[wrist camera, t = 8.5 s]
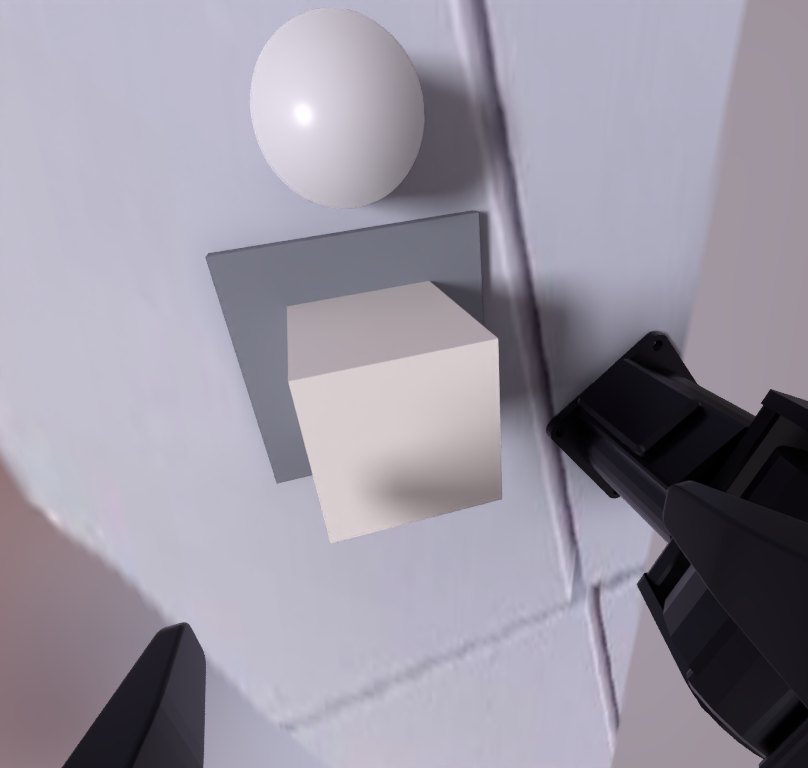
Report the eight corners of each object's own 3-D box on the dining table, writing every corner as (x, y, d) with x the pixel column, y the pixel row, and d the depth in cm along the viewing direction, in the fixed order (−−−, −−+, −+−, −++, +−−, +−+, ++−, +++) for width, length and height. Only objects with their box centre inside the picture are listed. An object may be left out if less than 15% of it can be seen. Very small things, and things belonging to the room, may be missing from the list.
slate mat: (483, 425, 20) (488, 432, 20) (277, 474, 19) (276, 483, 18) (472, 210, 16) (478, 212, 16) (208, 253, 15) (205, 257, 14)
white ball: (416, 130, 15) (457, 121, 11) (331, 224, 15) (344, 243, 12) (321, 12, 13) (335, -43, 9) (229, 123, 14) (211, 110, 10)
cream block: (440, 403, 19) (502, 498, 13) (317, 430, 18) (330, 543, 13) (429, 280, 16) (498, 338, 11) (287, 306, 16) (288, 381, 10)
